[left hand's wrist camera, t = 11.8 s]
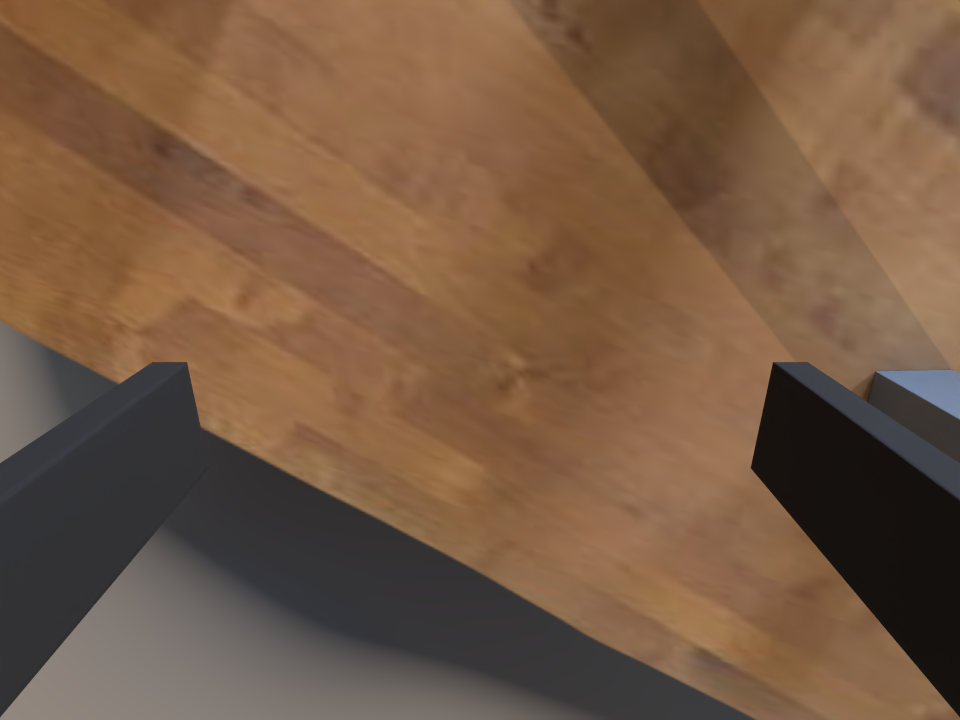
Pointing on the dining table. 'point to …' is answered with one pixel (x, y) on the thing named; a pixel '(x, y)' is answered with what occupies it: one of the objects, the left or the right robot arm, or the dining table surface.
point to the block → (922, 404)
